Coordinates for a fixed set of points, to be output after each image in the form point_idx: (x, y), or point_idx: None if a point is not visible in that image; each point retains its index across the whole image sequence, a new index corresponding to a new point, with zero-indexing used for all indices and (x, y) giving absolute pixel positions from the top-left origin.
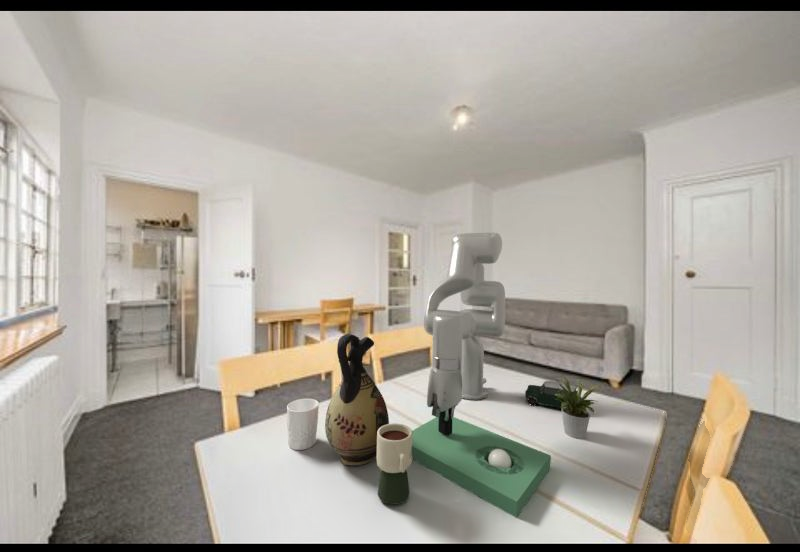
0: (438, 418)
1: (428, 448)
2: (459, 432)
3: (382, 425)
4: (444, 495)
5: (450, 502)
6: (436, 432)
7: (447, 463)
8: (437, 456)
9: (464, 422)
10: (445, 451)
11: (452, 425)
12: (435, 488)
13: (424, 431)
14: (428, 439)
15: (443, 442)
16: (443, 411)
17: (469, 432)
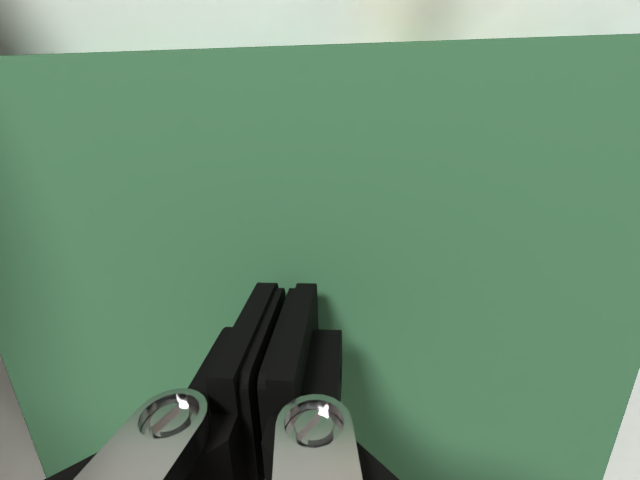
0: (544, 83)
1: (49, 330)
2: (411, 382)
3: None
4: (20, 449)
5: (18, 475)
6: (265, 248)
7: (54, 473)
8: (46, 411)
9: (626, 336)
10: (124, 420)
11: (487, 286)
12: (12, 410)
13: (187, 158)
14: (125, 265)
15: (193, 364)
16: (273, 457)
17: (467, 432)
